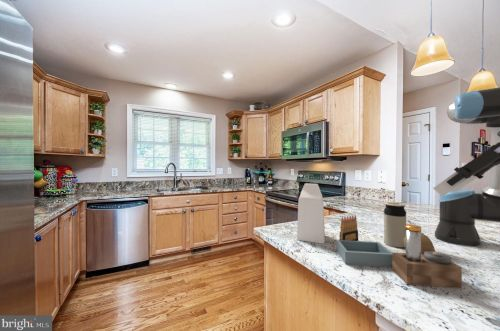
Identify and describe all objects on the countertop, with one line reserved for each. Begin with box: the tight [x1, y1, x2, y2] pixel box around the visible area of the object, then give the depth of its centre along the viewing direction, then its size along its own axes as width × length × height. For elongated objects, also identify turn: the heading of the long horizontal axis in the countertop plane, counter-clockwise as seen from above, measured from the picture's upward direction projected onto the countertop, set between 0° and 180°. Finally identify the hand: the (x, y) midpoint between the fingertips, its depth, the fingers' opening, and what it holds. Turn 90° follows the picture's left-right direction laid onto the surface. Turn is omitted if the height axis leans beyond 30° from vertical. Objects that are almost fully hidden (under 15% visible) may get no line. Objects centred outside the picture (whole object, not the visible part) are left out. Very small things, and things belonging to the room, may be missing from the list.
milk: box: [296, 183, 326, 244], centre depth 101 cm, size 12×12×26 cm
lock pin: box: [405, 223, 422, 262], centre depth 64 cm, size 4×4×16 cm
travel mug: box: [383, 201, 407, 249], centre depth 91 cm, size 8×8×18 cm
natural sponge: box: [403, 232, 436, 254], centre depth 77 cm, size 9×9×10 cm
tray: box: [335, 239, 393, 268], centre depth 78 cm, size 16×12×4 cm
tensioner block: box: [391, 251, 463, 289], centre depth 63 cm, size 14×8×8 cm, turn 81°
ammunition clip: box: [339, 214, 359, 241], centre depth 94 cm, size 11×2×12 cm, turn 118°
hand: (444, 190), depth 60 cm, fingers open, 13 cm apart
